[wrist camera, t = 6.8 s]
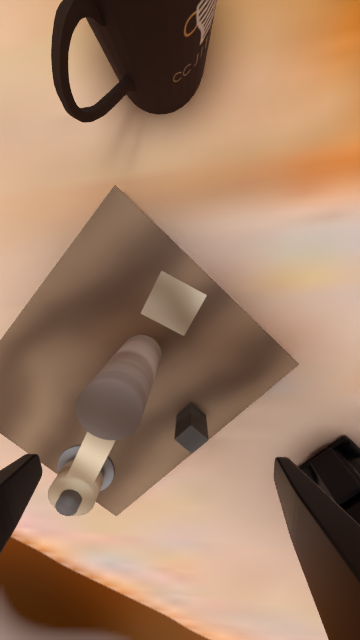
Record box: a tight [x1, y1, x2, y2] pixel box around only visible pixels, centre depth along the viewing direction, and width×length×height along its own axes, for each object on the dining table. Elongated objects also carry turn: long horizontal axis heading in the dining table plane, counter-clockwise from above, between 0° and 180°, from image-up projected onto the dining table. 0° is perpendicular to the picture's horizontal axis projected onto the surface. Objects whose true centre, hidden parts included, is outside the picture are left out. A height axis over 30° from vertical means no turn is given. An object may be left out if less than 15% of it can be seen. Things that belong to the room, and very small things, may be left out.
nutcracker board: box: [0, 185, 299, 516], centre depth 19 cm, size 21×26×4 cm
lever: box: [48, 335, 162, 516], centre depth 15 cm, size 20×4×8 cm, turn 153°
